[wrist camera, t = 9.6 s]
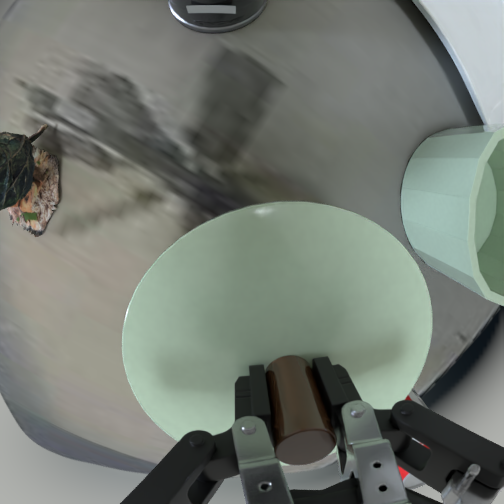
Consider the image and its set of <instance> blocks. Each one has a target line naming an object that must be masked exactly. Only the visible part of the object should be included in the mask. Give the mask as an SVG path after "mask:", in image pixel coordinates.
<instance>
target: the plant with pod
mask: <svg viewBox="0 0 504 504" xmlns="http://www.w3.org/2000/svg"><path fill="white" fill-rule="evenodd" d="M47 127H48V125H47V124H45V125H42V126H41V128H40V129H39V130H38V132H37V133H35V134H33V135H32V136H30V137H29V138H28V137H26V136H25V135H19V134H13V133H12V134H11V133H9V132H2V133H0V210H2V209H5V208H8V209H7V210H8V211H9V214H10V218H11V220H13V223H14V221H16V224H17V226H18V222H19V225H20V226H24V230H27V231H28V230H29V232H31V234H34V235H35V237H38V236H39V235H42V232H43V230H44V228H45V226H46V224H47V222H48V221H49V218H50V217H51V214H52V213H53V211H52V210H55V209H56V208H55V207H54V205H55V204H58V201H59V198H58V197H59V196H58V195H59V194H58V193H59V192H58V188H57V187H58V178H59V176H58V175H59V174H58V172H57V170H58V169H59V168H58V166H59V165H58V163H59V162H58V159H57V156H56V158H55V156H54V157H53V155H52V156H51V155H50V154H49V153H48V152H45V153H43V150H44V149H43V150H41V149H40V150H39V149H37V148H35V147H34V145H33V146H32V144H31V143H32V142H33V141H35V140H36V139H37V138H38V137H39V136H40V135H41V134H42V133H43V132H44V130H45V129H46V128H47ZM36 149H37V150H36ZM12 226H13V224H12Z"/></svg>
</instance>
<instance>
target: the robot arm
mask: <svg viewBox="0 0 504 504" xmlns="http://www.w3.org/2000/svg"><path fill="white" fill-rule="evenodd" d="M168 2H169V6H170V9H171V11H172V13H173V15H174V17H175V18H176V19H177V20H178V21H179V22H180V23H181V24H182V25H184V26H186V27H188V28H190V29H192V30H195V31H199V32H205V33H222V32H228V31H233V30H236V29H239V28H241V27H244V26H246V25H248V24H249V23H251V22H252V21H254V20H255V19H256V18H257V17H258V16H259V15H260V14H261V13H262V11H263V10H264V8H265V5H266V2H267V0H168ZM312 371H313V373H314V376H315V379H316V381H317V384H318V387H319V390H320V392H321V395H322V398H323V401H324V403H325V406H326V409H327V412H328V414H329V417H330V420H331V423H332V425H333V428H334V431H335V434H336V437H337V445H336V455H337V461H338V468H339V474H340V483H338V484H335V485H333V486H331V487H328V488H326V489H324V490H295V489H294V490H289V487H288V485H287V482H286V479H285V476H284V473H283V470H282V467H281V464H280V461H279V459H278V457H276V456H275V453H274V450H273V443H272V435H271V430H272V423H271V411H270V404H269V397H268V391H267V384H266V377H265V370H264V364H261V365H250V366H249V374H250V376H239V377H238V379H237V380H236V382H235V421H234V423H233V425H232V427H231V428H230V429H228V430H227V431H225V432H223V433H220V434H216V435H212V434H211V433H209V432H207V431H203V430H195V431H191V432H189V433H187V434H185V435H184V436H183V437H182V438H181V439H180V440H179V442H178V443H177V444H176V445H175V446H174V447H173V448H172V449H171V451H170V452H169V453H168V454H167V455H166V456H165V457H164V458H163V459H162V460H161V462H160V463H159V464H158V465H157V466H156V467H155V468H154V469H153V470H152V471H151V472H150V473H149V474H148V475H147V476H146V478H145V479H144V480H143V481H142V482H141V483H140V484H139V485H138V486H137V487H136V488H135V489H134V490H133V491H132V492H131V493H130V494H129V495H128V496H127V497H126V498H125V499H124V500H123V501H122V502H121V503H120V504H208V502H209V501H210V499H211V498H212V497H213V495H214V494H215V493H216V491H217V490H218V488H219V487H220V485H221V484H222V482H223V481H224V479H226V478H229V477H232V476H235V475H238V474H240V477H241V481H242V486H243V491H244V496H245V501H246V504H491V503H492V501H493V500H494V499H495V497H496V496H497V495H498V494H499V493H500V492H501V490H502V489H503V488H504V447H501V446H500V445H498V444H496V443H494V442H492V441H489V440H487V439H485V438H483V437H481V436H479V435H477V434H475V433H473V432H471V431H469V430H467V429H465V428H464V427H462V426H460V425H458V424H456V423H454V422H452V421H450V420H448V419H446V418H444V417H443V416H441V415H439V414H437V413H435V412H433V411H431V410H429V409H428V408H426V407H424V406H422V405H420V404H418V403H417V402H415V401H412V400H401V401H398V402H397V403H395V404H394V405H393V407H392V409H374V408H373V407H372V406H371V405H370V404H369V403H367V402H365V401H362V399H361V397H360V395H359V393H358V391H357V389H356V387H355V385H354V383H353V382H352V379H351V378H350V376H349V374H348V372H347V370H346V369H345V368H344V367H342V366H341V365H340V364H336V365H332V364H331V361H330V359H329V357H328V356H324V357H318V358H313V359H312ZM412 438H414V439H415V440H417V441H419V442H420V443H422V444H424V445H425V446H427V447H428V448H429V449H428V448H427V447H425V446H423V445H422V444H420V443H418V442H417V441H415V440H414V439H412ZM398 466H399V467H401V468H402V469H404V470H405V471H407V472H408V473H410V474H411V475H413V476H414V477H416V478H417V479H419V480H421V481H422V482H424V483H425V484H427V485H428V486H430V487H432V488H433V489H435V490H437V491H438V492H440V493H441V497H442V500H443V503H440V502H438V501H435V500H433V499H431V498H428V497H426V496H424V495H421V494H419V493H417V492H415V491H413V490H410V489H408V488H406V487H404V484H403V481H402V477H401V474H400V471H399V468H398Z"/></svg>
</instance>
